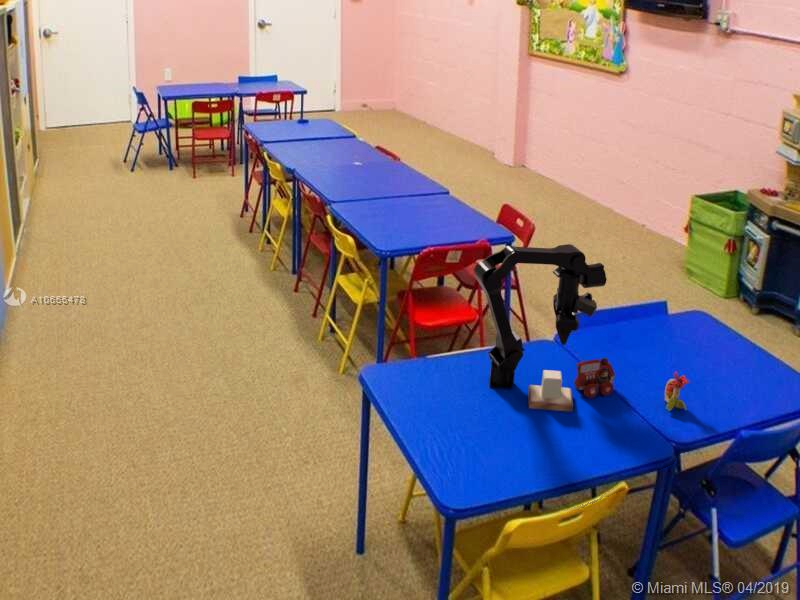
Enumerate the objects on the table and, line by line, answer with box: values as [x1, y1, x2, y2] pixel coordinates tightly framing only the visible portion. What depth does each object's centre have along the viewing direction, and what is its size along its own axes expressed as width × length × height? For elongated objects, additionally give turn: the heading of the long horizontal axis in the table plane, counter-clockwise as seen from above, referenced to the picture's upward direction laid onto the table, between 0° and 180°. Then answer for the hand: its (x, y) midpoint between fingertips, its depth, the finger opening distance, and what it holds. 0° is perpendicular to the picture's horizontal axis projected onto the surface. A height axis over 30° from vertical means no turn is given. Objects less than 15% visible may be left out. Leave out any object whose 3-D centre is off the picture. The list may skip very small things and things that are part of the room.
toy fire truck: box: [573, 357, 616, 399], centre depth 243 cm, size 7×12×10 cm, turn 110°
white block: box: [540, 369, 563, 399], centre depth 237 cm, size 5×5×6 cm
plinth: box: [527, 384, 574, 413], centre depth 239 cm, size 12×9×2 cm
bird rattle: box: [664, 371, 691, 412], centre depth 237 cm, size 6×11×9 cm
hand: (562, 337), depth 247 cm, fingers open, 9 cm apart
